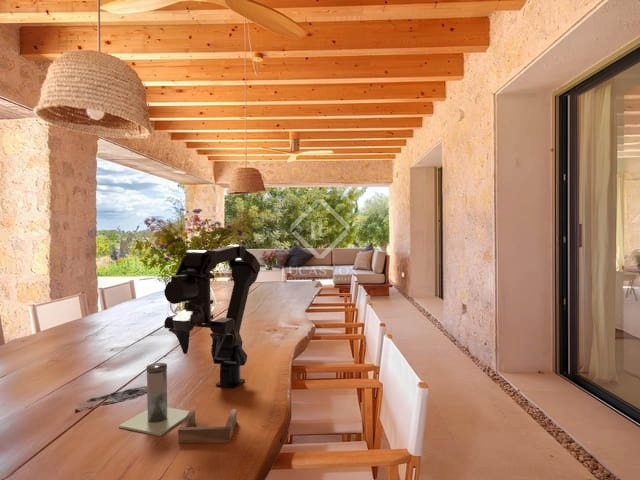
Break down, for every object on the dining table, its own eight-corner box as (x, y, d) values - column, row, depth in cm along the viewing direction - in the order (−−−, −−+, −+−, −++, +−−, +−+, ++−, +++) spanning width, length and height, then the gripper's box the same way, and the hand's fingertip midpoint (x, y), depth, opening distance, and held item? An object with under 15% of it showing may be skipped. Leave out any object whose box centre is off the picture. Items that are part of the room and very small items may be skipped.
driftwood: (152, 387, 127) (152, 380, 127) (159, 395, 122) (158, 388, 122) (72, 406, 115) (72, 398, 115) (76, 415, 110) (75, 407, 110)
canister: (163, 412, 108) (162, 361, 108) (170, 418, 105) (169, 366, 104) (144, 417, 105) (143, 365, 105) (151, 424, 102) (150, 370, 101)
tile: (154, 406, 113) (154, 405, 113) (193, 413, 109) (192, 411, 109) (119, 427, 101) (118, 425, 101) (160, 436, 97) (160, 433, 97)
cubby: (190, 422, 104) (190, 410, 104) (236, 421, 105) (236, 409, 104) (178, 443, 94) (178, 429, 94) (229, 442, 95) (229, 428, 94)
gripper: (149, 300, 109) (150, 360, 110) (211, 305, 103) (212, 369, 104) (177, 293, 120) (178, 348, 120) (236, 297, 114) (236, 355, 114)
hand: (200, 355), depth 114 cm, fingers open, 9 cm apart
